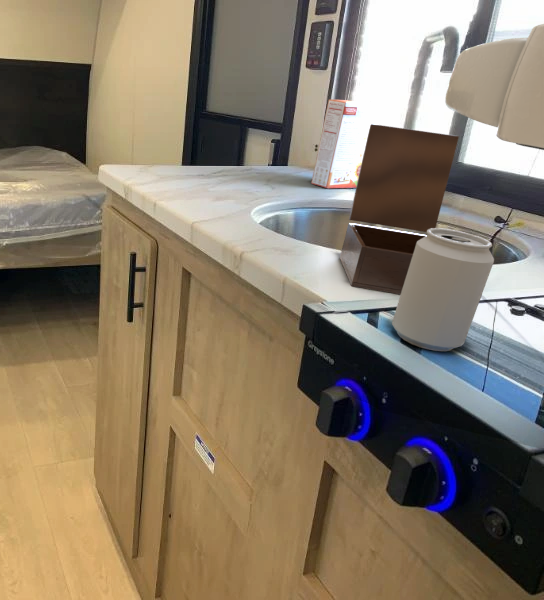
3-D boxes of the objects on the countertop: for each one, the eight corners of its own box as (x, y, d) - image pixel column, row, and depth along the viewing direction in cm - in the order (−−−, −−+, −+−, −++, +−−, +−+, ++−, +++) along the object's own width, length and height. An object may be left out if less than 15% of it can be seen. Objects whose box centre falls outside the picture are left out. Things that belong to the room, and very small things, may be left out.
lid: (459, 136, 85) (447, 138, 90) (371, 123, 87) (364, 127, 92) (434, 233, 88) (423, 230, 93) (349, 219, 90) (344, 218, 94)
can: (454, 333, 69) (489, 233, 64) (468, 361, 62) (509, 251, 57) (386, 319, 70) (416, 220, 66) (393, 344, 64) (427, 236, 59)
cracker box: (345, 183, 160) (365, 101, 152) (363, 188, 155) (385, 104, 148) (308, 183, 153) (328, 97, 145) (326, 189, 148) (347, 100, 140)
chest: (445, 302, 79) (459, 262, 76) (351, 286, 80) (361, 246, 78) (421, 271, 91) (432, 236, 89) (339, 257, 92) (348, 222, 90)
